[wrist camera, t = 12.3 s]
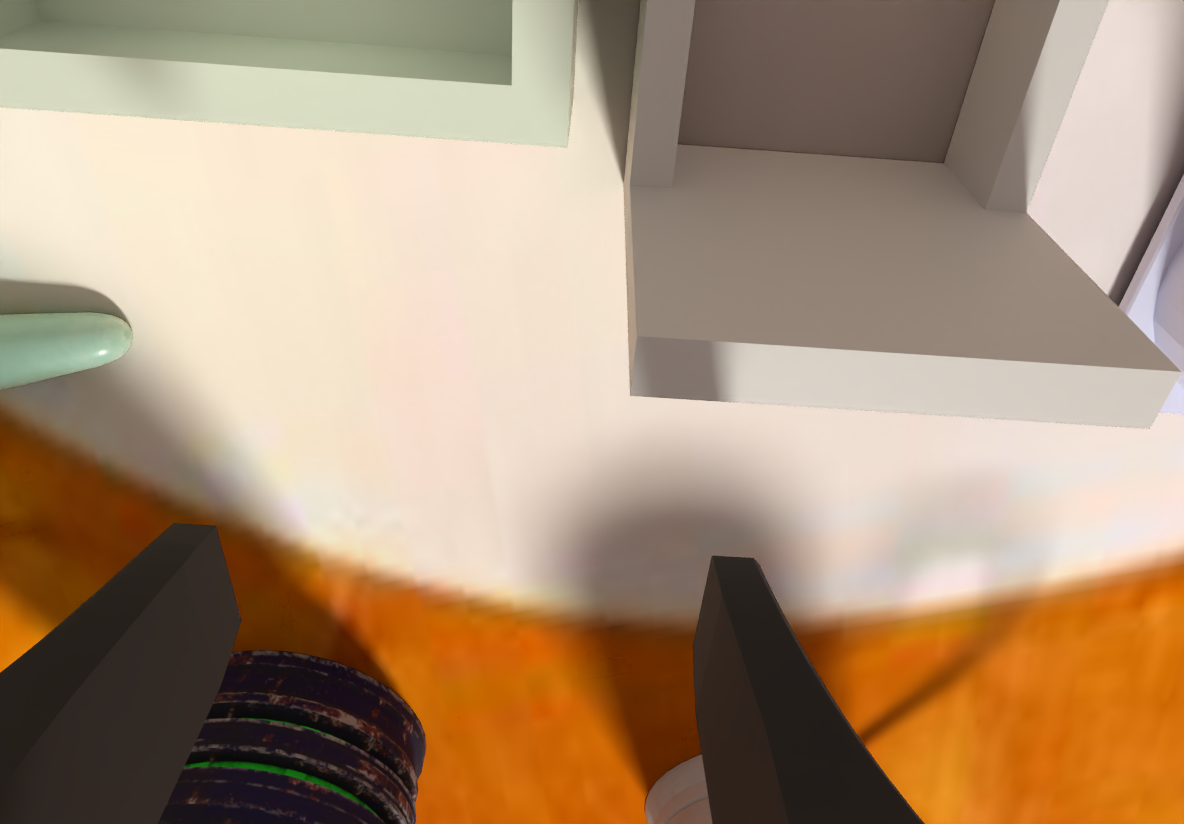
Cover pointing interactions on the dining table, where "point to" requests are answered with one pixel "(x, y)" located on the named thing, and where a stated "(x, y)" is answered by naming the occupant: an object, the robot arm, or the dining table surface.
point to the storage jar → (300, 748)
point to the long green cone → (58, 344)
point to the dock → (877, 254)
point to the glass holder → (680, 796)
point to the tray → (302, 64)
